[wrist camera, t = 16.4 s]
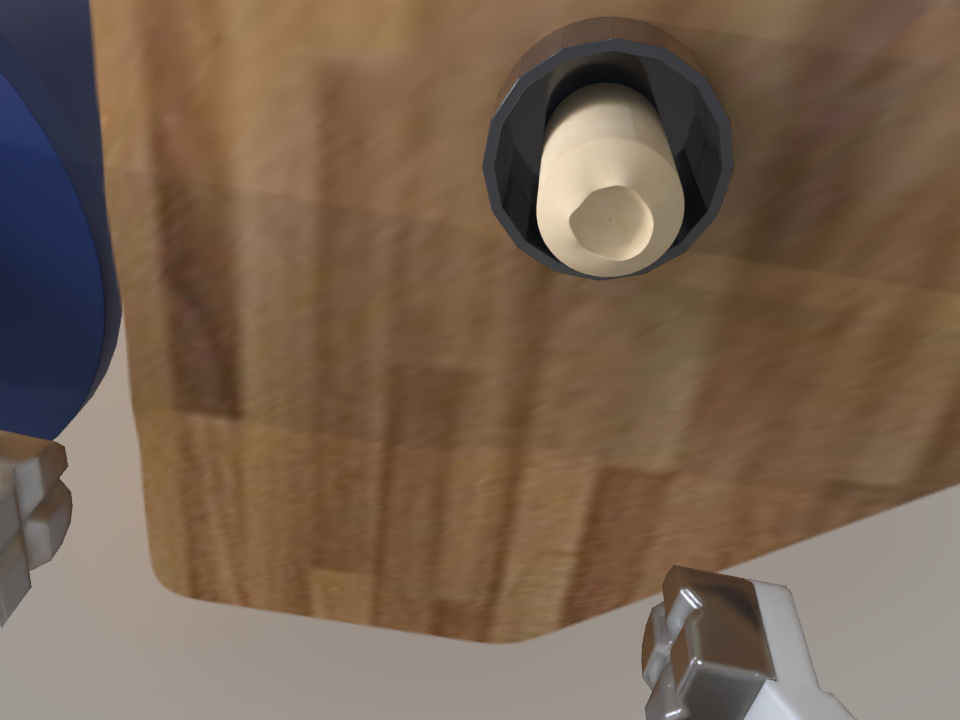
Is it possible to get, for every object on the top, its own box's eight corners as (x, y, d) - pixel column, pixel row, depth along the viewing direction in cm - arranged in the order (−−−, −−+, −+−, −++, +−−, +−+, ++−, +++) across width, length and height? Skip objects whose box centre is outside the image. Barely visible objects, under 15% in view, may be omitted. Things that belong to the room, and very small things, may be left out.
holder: (476, 211, 42) (465, 253, 38) (517, -6, 36) (510, 15, 32) (676, 252, 42) (688, 299, 38) (747, 43, 36) (769, 70, 32)
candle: (528, 178, 40) (516, 270, 32) (565, 64, 37) (563, 131, 29) (637, 212, 40) (654, 311, 32) (683, 101, 37) (714, 179, 29)
